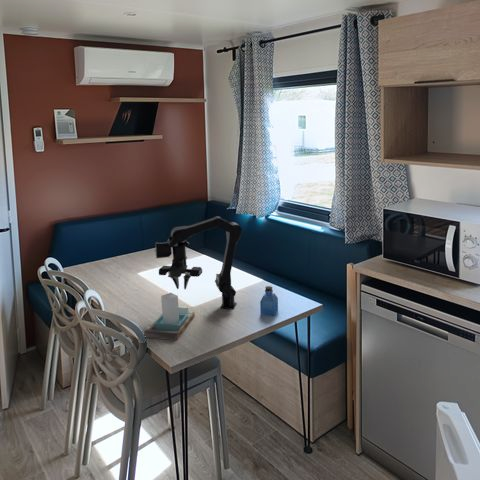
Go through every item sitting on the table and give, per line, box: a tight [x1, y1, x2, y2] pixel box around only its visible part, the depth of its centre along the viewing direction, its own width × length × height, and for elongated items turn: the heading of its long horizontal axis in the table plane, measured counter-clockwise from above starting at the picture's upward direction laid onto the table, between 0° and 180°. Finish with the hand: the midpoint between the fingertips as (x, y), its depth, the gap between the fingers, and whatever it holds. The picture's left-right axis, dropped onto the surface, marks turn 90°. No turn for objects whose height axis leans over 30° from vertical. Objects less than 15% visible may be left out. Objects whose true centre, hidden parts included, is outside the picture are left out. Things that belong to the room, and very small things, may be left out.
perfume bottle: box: [259, 285, 279, 317], centre depth 226 cm, size 6×6×12 cm
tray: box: [153, 305, 192, 331], centre depth 219 cm, size 17×11×4 cm, turn 168°
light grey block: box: [160, 292, 180, 324], centre depth 215 cm, size 5×5×12 cm
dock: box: [144, 311, 196, 341], centre depth 216 cm, size 24×14×3 cm, turn 168°
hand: (181, 289), depth 229 cm, fingers open, 3 cm apart
